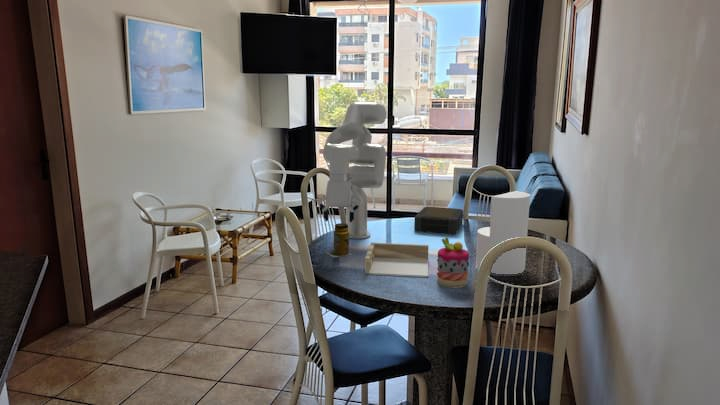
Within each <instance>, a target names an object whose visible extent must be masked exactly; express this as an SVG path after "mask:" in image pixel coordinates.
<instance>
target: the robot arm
mask: <svg viewBox="0 0 720 405" xmlns="http://www.w3.org/2000/svg"><path fill="white" fill-rule="evenodd" d="M386 119H387V109H386V107H385V106H384V105H383V104H380V103H378V102H369V101H368V102H366V101H365V102H361V101H358V102H357V101H356V102H351V103H350V104H349V105H348V107H347V109H346V113H345V115H344V119H343V122H342V125H340V126H338V127H337V128H335V129H333V131H332V132H330V133H329V134H328V136H327V137H326V140H325V143H324V145H323V150H322V156H323V159H324V161H325V162H327V163H329V180H328V181H327V182H326V183H327V185H326V189H325V190H326V192H325V195H324V196H322V197H319V198H318V199H316V202H317V204H318V205H319V207H320V209H322V210H323V211H322V212H323V220H324V221H325V222H328V221H329V208H345V224H347V225H348V231H349V239H351V240H360V239H367V238H369V237H371V232H370V231H368V195H367V193H366V192H365V190H364V189H380V188H382V186H383V184H384V179H385V169H386V161H387V160H386V159H387V152H386V151H387V150H386V148H385V146H384V145H381V144H375V143H372V140H373V139H372V133H371V131H370V130H369V129H368V127H367V126H365V125H382V124H384V123H385V122H386ZM351 140H352V142H351V143H350V144H348V143H347V144H346V142H348V141H351ZM344 142H345V143H344ZM350 164H353V165H351V166H350ZM324 200H325V204H324V203H323V202H322V201H324Z"/></svg>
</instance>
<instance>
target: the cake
mask: <svg viewBox="0 0 720 405" xmlns="http://www.w3.org/2000/svg"><path fill="white" fill-rule="evenodd" d="M441 242H442V244H443V245H444V247H442V248H440V249H438V250H437V260H436V261H437V267H436V269H437V271H438V272H436V275H437V276H436V277H437V278H436V279H437V281H436V282H437V284H438V283H439V284H440V285H439V284H438V285H439V286H442V285H443V286H442V287H445V286H448V287H447V288H450V287H460V288H462V287H461V286H464V287H466V286H467V285H468V276H469V269H468V267H469V266H470V262H469V259H470V258H469V257H470V253H469V251H468V250H466V249H463V247H464V246H463V244H462V243H461V242H460V241H456V242H454V243H451V242H450V241H449V238H448V237H445V238H442V239H441ZM466 284H467V285H466ZM465 285H466V286H465Z"/></svg>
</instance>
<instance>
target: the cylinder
mask: <svg viewBox="0 0 720 405" xmlns="http://www.w3.org/2000/svg"><path fill="white" fill-rule="evenodd" d="M530 200H531V194H530V193H528V192H524V191H520V190H514V191H510V192H506V193H501V194H496V195H494V196H493V195H492V196H491V201H490V202H491V203H490V204H491V206H490V219H489V220H490V222H489V226H487V227H480V228H479V229H478V230H476V231H477V232H476V233H477V234H476V236H477V238H476V253H475V254H476V255H475V270H477V271H478V267H479V265H480V263H481V261H482V259H483V257H484V256H485V254H486V253H487V252H488V251H489V250H490V249H491V248H493V247H494V246H496V245H497V244H499V243H501V242H502V241H505V240H507V239H510V238H515V237H527V238H528V232H529V231H528V229H529V216H530V206H531V205H530V203H531V201H530ZM526 257H527V247H526V248H516V249H512V250H510V251H507V252H505V253H503V254H502V255H501V256H500V257H498V259H497V260H496V262H495V263H494V264H493V266H492V269H491V272H492V273H496V274H518V273H522V272H523V271H524V270H526V259H527V258H526Z"/></svg>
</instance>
